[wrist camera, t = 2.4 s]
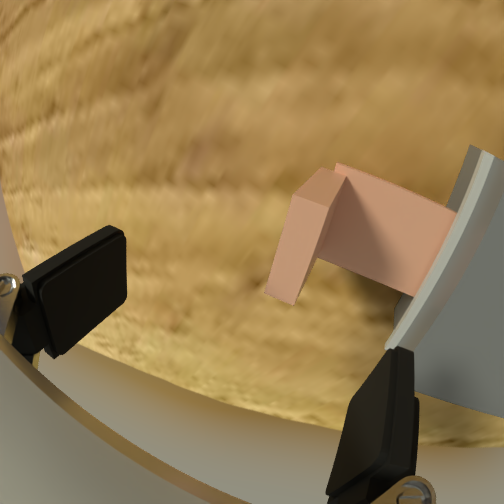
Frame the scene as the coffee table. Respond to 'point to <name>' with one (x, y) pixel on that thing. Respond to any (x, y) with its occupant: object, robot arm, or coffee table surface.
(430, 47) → the coffee table surface
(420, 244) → the pink l-shaped bracket
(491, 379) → the block
